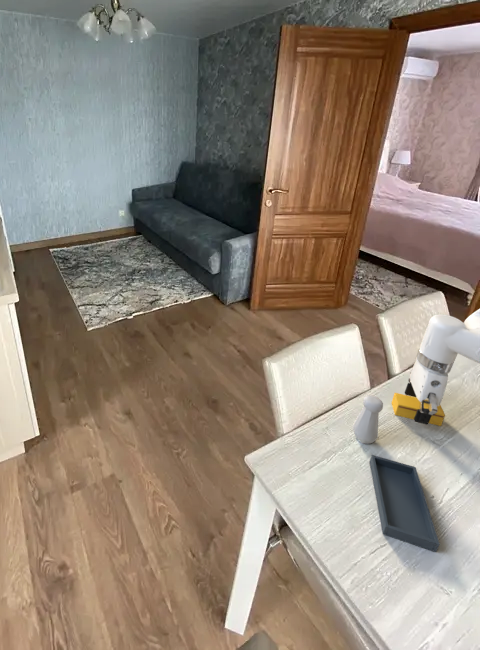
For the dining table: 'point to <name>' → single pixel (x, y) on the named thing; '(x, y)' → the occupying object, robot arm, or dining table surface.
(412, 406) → the block
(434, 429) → the dining table surface
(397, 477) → the tray
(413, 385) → the robot arm
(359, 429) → the salt shaker
